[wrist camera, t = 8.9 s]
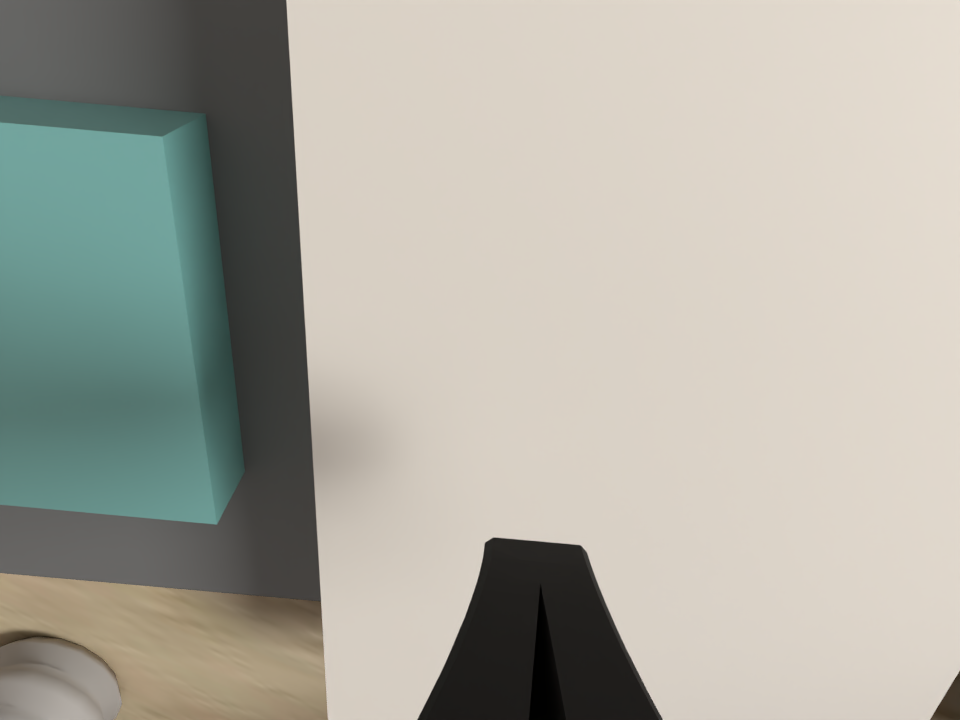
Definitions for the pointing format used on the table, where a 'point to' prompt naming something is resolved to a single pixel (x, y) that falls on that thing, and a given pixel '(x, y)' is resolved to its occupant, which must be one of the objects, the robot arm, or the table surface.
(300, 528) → the mat
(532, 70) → the cream flat slab
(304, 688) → the table surface
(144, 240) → the teal rectangular block
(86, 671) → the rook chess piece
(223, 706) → the table surface
